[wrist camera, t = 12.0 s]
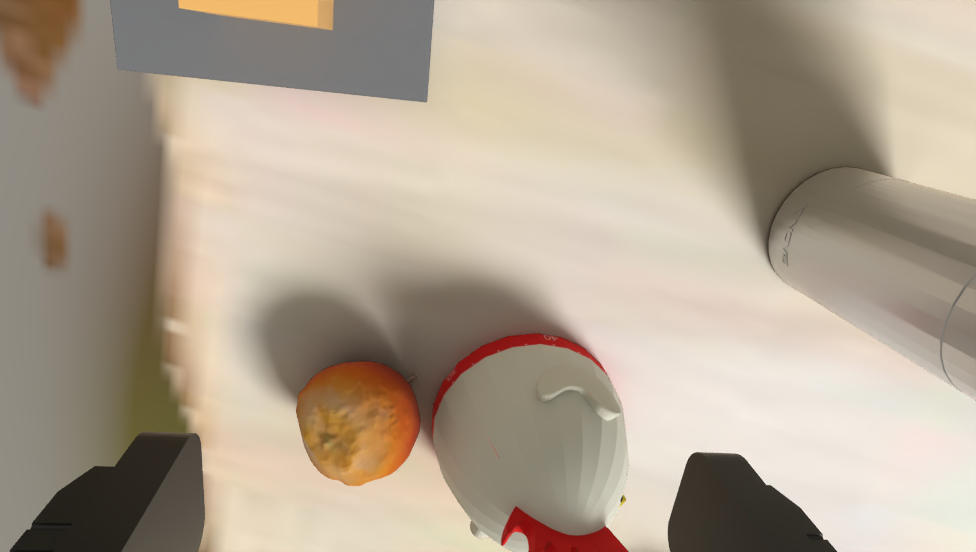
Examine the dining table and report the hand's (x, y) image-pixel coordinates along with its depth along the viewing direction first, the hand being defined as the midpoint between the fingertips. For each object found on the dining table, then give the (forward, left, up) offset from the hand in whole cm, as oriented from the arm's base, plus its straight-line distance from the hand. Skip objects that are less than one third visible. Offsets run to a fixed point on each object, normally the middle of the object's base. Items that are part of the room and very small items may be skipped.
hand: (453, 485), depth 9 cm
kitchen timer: (-9, +18, -28) cm, 35 cm away
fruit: (+3, +16, -28) cm, 33 cm away
